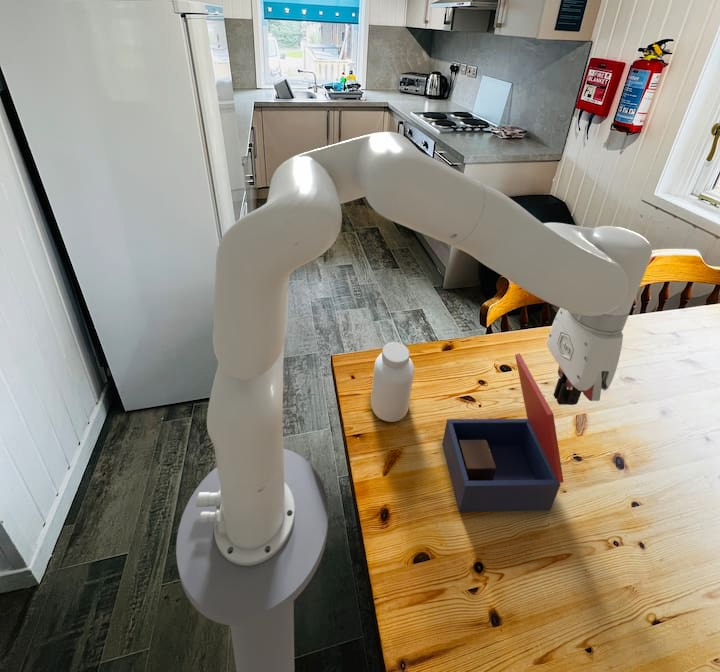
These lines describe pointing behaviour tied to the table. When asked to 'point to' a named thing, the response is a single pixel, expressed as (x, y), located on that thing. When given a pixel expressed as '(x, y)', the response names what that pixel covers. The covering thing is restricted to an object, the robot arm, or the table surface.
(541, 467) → the box
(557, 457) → the lunchbox lid
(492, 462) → the block
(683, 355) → the table surface
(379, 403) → the pill bottle
